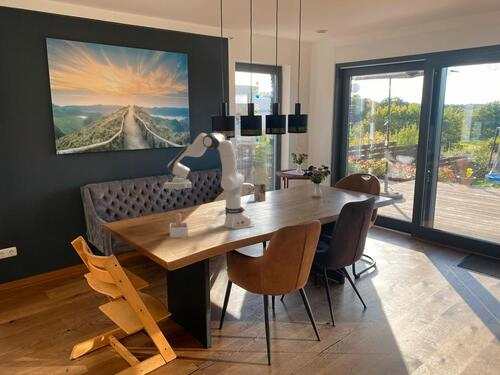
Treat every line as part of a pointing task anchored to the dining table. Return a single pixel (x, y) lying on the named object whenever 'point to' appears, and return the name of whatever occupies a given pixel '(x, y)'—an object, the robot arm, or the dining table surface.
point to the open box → (178, 230)
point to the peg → (178, 220)
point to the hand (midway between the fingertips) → (177, 187)
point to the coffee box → (259, 192)
